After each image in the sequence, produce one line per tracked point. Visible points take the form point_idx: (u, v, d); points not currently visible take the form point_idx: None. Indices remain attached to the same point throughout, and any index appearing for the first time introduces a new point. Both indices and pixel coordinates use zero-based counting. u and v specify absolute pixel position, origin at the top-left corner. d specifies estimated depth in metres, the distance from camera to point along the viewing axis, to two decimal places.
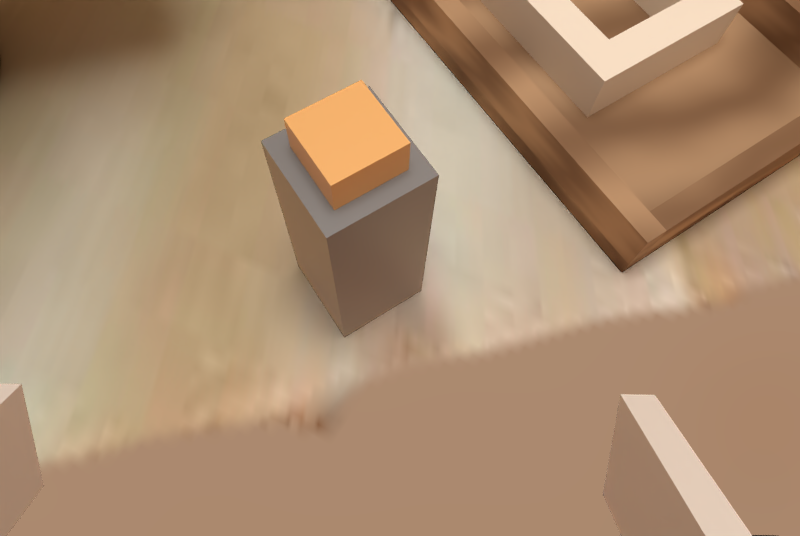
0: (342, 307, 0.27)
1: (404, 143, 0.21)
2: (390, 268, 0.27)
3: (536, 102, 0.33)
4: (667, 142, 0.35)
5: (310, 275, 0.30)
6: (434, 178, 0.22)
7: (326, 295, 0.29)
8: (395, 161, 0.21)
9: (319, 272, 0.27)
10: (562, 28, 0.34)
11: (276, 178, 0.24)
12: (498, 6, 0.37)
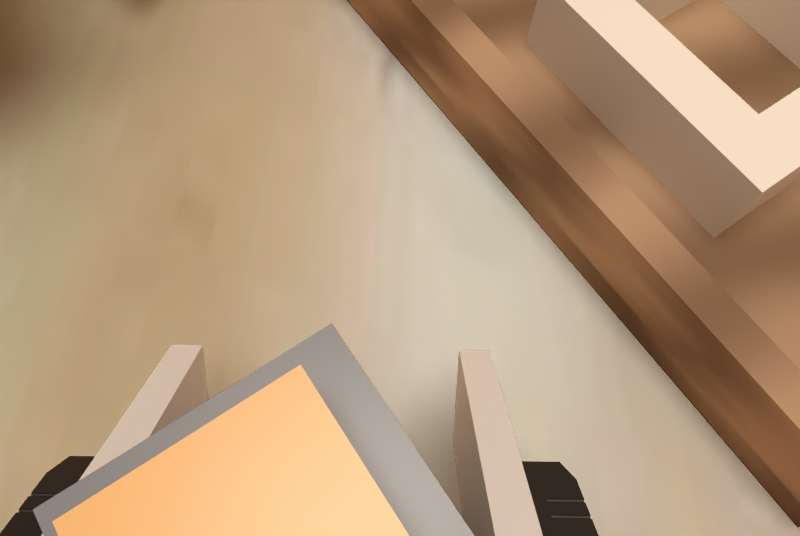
0: None
1: None
2: None
3: (643, 231, 0.18)
4: None
5: None
6: None
7: None
8: None
9: None
10: (676, 94, 0.20)
11: None
12: (556, 52, 0.23)
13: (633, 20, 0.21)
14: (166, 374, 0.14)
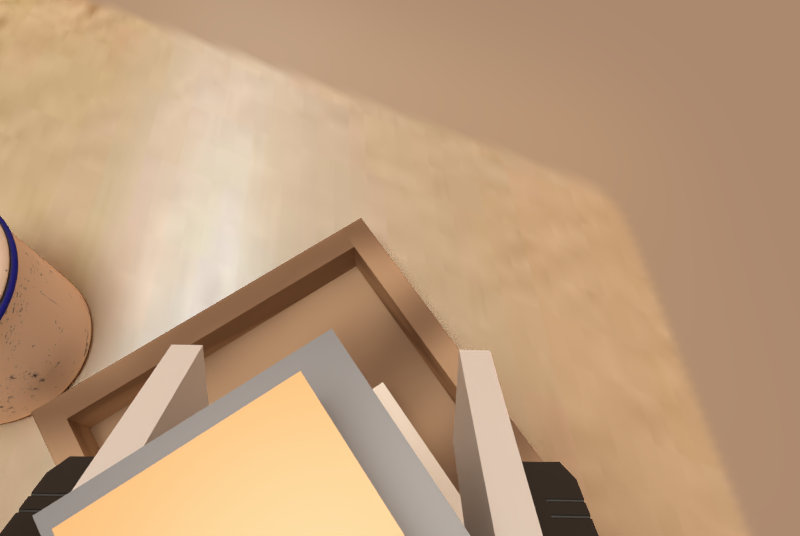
0: None
1: None
2: None
3: None
4: None
5: None
6: None
7: None
8: None
9: None
10: None
11: None
12: None
13: None
14: (166, 374, 0.14)
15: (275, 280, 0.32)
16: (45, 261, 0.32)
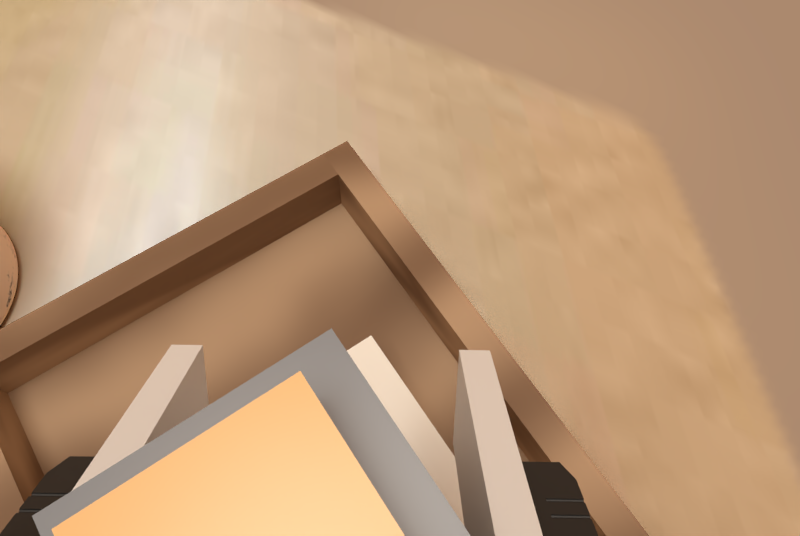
0: None
1: None
2: None
3: None
4: None
5: None
6: None
7: None
8: None
9: None
10: None
11: None
12: None
13: None
14: (166, 374, 0.14)
15: (240, 213, 0.26)
16: None
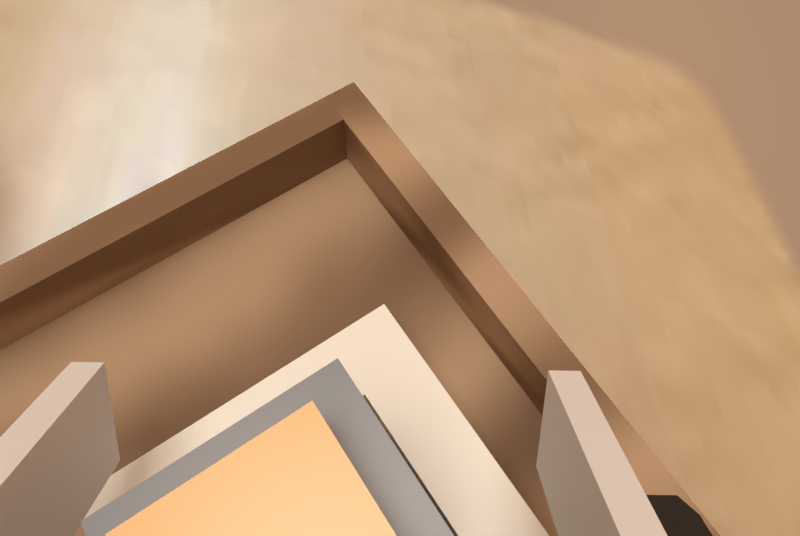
0: None
1: None
2: None
3: None
4: None
5: None
6: None
7: None
8: None
9: None
10: None
11: None
12: None
13: None
14: (55, 395, 0.13)
15: (227, 163, 0.22)
16: None
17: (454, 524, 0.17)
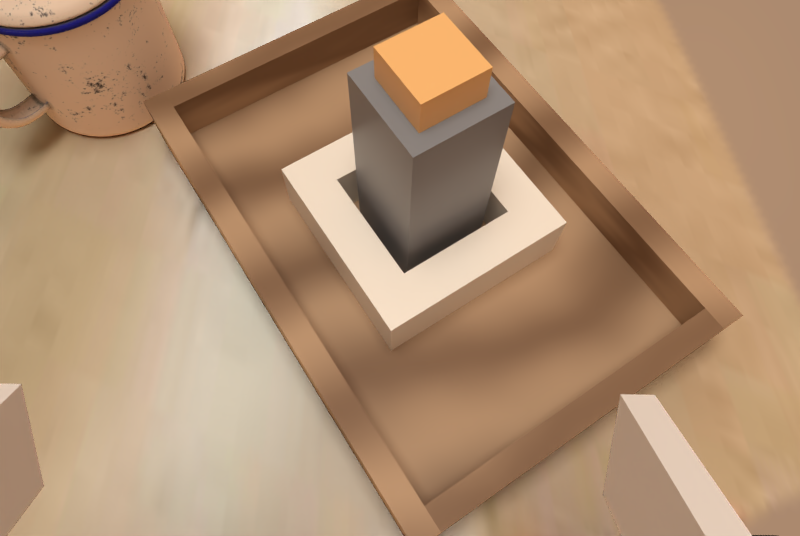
0: (411, 244, 0.29)
1: (487, 67, 0.22)
2: (458, 205, 0.28)
3: (312, 355, 0.28)
4: (479, 383, 0.30)
5: (375, 219, 0.32)
6: (511, 105, 0.23)
7: (393, 235, 0.30)
8: (477, 86, 0.23)
9: (390, 208, 0.28)
10: (351, 258, 0.30)
11: (357, 112, 0.25)
12: (301, 212, 0.33)
13: (336, 201, 0.31)
14: None
15: (350, 13, 0.37)
16: None
17: None
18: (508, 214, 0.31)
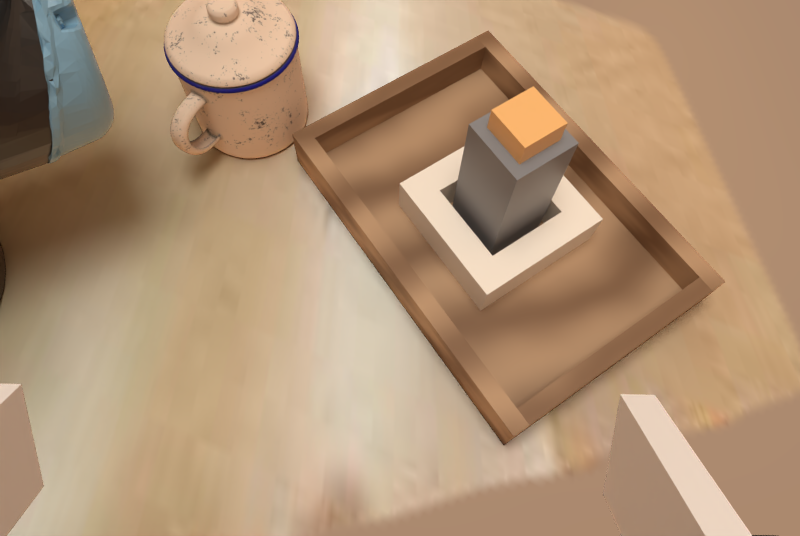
0: (498, 235, 0.42)
1: (564, 123, 0.35)
2: (531, 208, 0.41)
3: (433, 312, 0.41)
4: (543, 332, 0.43)
5: (466, 218, 0.45)
6: (576, 145, 0.36)
7: (482, 229, 0.43)
8: (556, 134, 0.36)
9: (485, 211, 0.41)
10: (455, 246, 0.43)
11: (471, 148, 0.38)
12: (410, 213, 0.46)
13: (440, 206, 0.44)
14: None
15: (436, 65, 0.49)
16: None
17: None
18: (562, 214, 0.44)
